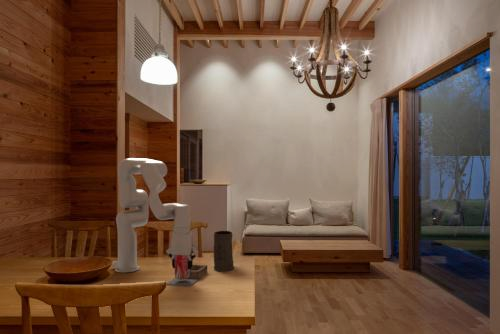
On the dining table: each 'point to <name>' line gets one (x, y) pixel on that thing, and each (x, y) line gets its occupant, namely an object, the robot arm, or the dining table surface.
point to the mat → (182, 282)
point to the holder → (197, 271)
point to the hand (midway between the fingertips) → (182, 267)
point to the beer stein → (223, 251)
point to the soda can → (181, 267)
